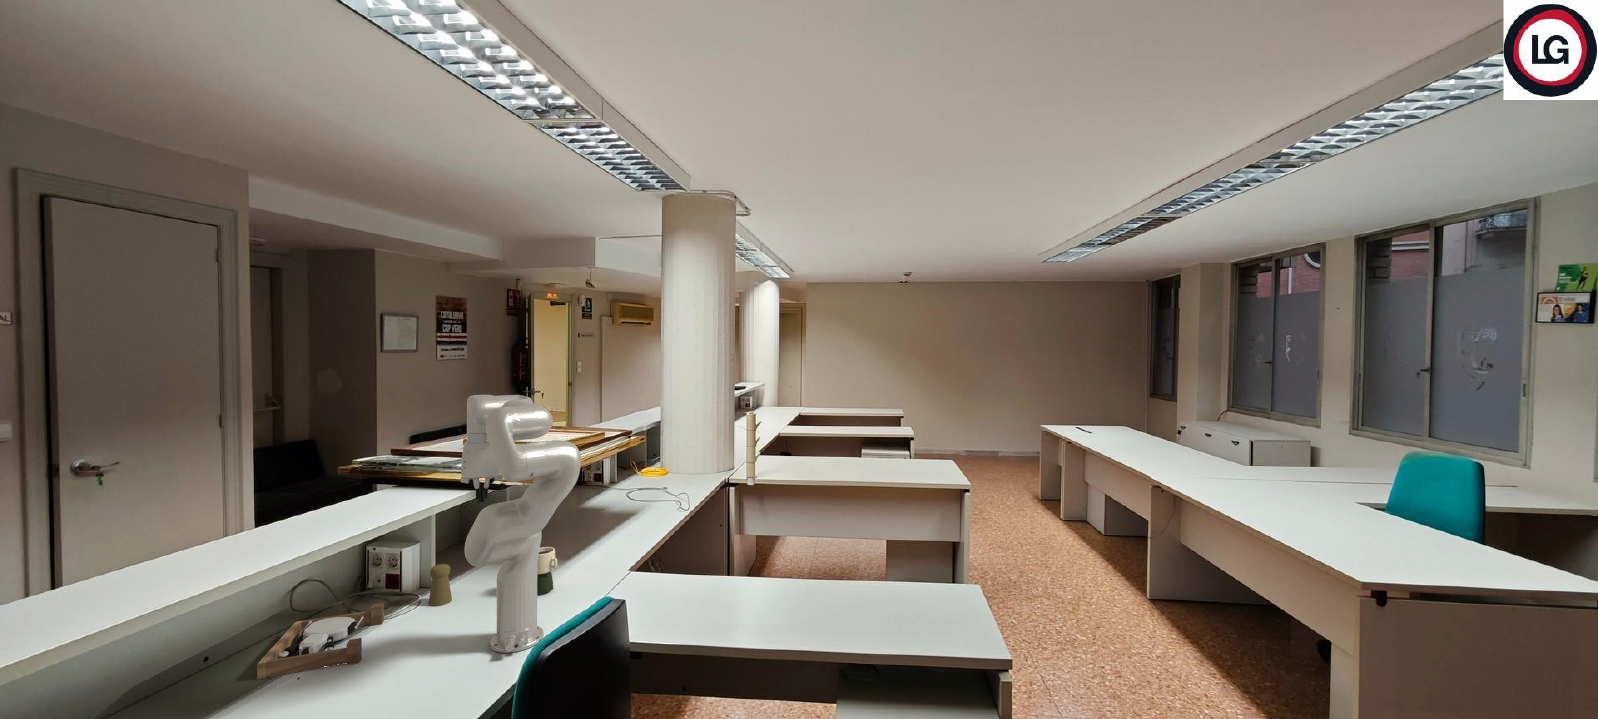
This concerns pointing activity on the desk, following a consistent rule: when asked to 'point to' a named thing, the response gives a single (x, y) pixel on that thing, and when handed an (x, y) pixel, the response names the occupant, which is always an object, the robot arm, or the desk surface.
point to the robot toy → (322, 635)
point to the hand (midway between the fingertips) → (481, 501)
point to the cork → (440, 585)
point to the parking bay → (350, 654)
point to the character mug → (545, 569)
